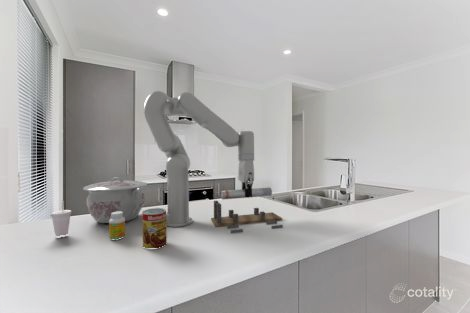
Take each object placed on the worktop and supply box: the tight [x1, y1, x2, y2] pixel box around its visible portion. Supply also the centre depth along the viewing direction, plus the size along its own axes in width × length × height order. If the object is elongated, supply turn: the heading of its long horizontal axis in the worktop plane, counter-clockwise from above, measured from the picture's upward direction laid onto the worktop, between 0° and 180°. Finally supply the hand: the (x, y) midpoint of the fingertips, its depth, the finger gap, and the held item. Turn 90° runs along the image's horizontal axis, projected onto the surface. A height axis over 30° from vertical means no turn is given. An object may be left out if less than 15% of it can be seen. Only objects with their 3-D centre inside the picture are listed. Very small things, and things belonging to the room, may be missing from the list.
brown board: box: [210, 200, 283, 228], centre depth 106 cm, size 32×10×9 cm, turn 107°
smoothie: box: [50, 200, 72, 237], centre depth 87 cm, size 6×6×14 cm
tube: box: [220, 187, 273, 200], centre depth 106 cm, size 24×4×4 cm, turn 107°
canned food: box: [141, 207, 168, 248], centre depth 79 cm, size 8×8×12 cm
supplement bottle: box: [108, 211, 126, 240], centre depth 85 cm, size 5×5×10 cm
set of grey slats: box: [226, 221, 284, 234], centre depth 96 cm, size 23×6×1 cm, turn 107°
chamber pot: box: [82, 176, 148, 224], centre depth 108 cm, size 28×28×21 cm
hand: (246, 195), depth 106 cm, fingers closed on tube, 4 cm apart
